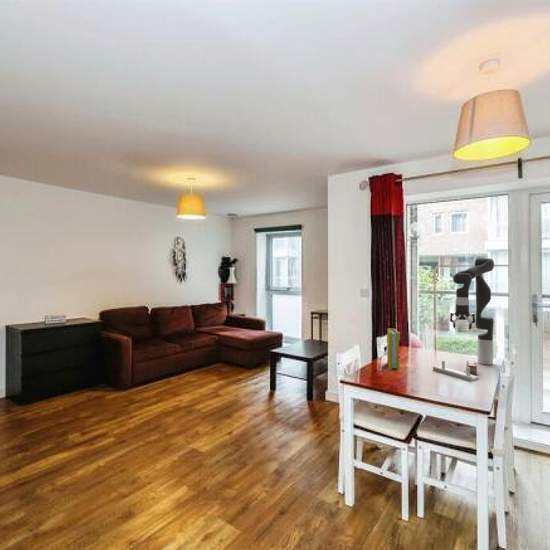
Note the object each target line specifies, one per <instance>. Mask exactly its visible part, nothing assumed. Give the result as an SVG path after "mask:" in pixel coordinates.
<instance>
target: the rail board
mask: <svg viewBox="0 0 550 550" xmlns="http://www.w3.org/2000/svg"><path fill="white" fill-rule="evenodd" d="M465 368H466V369H465V370H466V371H465V372H464V371H461V370H456V369H452V368H449V367H446V361H445V360H441V365H440V366H436V365H433V366H432V370H433V371H435V372H438V373H442V374H446V375H447V376H451V377H454V378H459V379H462V380H466V381H469V382H473V381H477V380H479V376H478V375H477V376H475V375H471V374H470V367H467V366H466V367H465Z"/></svg>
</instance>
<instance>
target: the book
mask: <svg viewBox="0 0 550 550" xmlns="http://www.w3.org/2000/svg"><path fill="white" fill-rule="evenodd" d="M386 331H387V332H386V333H387V334H386V344H387V346H386V347H387V349H386V350H387V354H386V355H387V366H388V369H389V370H393V369H396V370H397V371H400V369H401V368H400V366H401V363H400V340H401V339H400V338H401V333H400V331H398V329H396V328H390V327H389V328H387V330H386Z"/></svg>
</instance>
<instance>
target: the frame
mask: <svg viewBox="0 0 550 550" xmlns="http://www.w3.org/2000/svg"><path fill="white" fill-rule="evenodd" d="M466 367H470V374H471V375H475V376H478V375H477V374H478V373H477V372H478V368H477V367H478V366H477V363H476V361H474V360H473V361H472V360H471V361H470V360H466Z"/></svg>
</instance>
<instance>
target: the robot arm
mask: <svg viewBox="0 0 550 550" xmlns="http://www.w3.org/2000/svg"><path fill="white" fill-rule="evenodd" d="M473 265H474V266H470V267H468V268H467V269H465V270H462V271H458V272H456V273H455V274H454V275H453V277H452V281H453V282H454V283H455V284H456V285H463V286H462V287H458V288H456V290H455V291H456V292H455V294H456V295H455V296H456V297H455V312H453V311H451V312H450V317H449V322H450V323H452V327H453V329H456V322H457V321H458V320H463V321H467V322H468V323H469V324H468V330H471V329H472V325H473V324H475V328H476V329H477V330H483V331H486V332H483V333H479V334H478V335H477V363H478V364H480V365H485V364H486V366H488V365H489V366H490V365H491V364H492V365H493V364H494V318H493V317H492V316H491V317H490V316H483V315H482V313H483V311H484V309H485V308H486V307H487V306H488V304H489V303H490V301H491V300H492V289H491V287H490V286H489V284H488V282H487V281H486V280H485V278H484V275H483V274H486V273H489V272H491V271H493V269H495V261H494V259H493V258H490V257H489V258H488V257H487V258H484V257H477V258H476V259H475V260H474V264H473ZM474 279H475V304H476V306H475V309H476V310H475V313H470V301H469V300H470V299H469V298H470V296H469V292H470V287H471V284H472V280H474ZM454 315H455V316H456V317H455V318H454V319H453V317H454ZM469 317H471V318H472V320H471V319H470V318H469Z"/></svg>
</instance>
